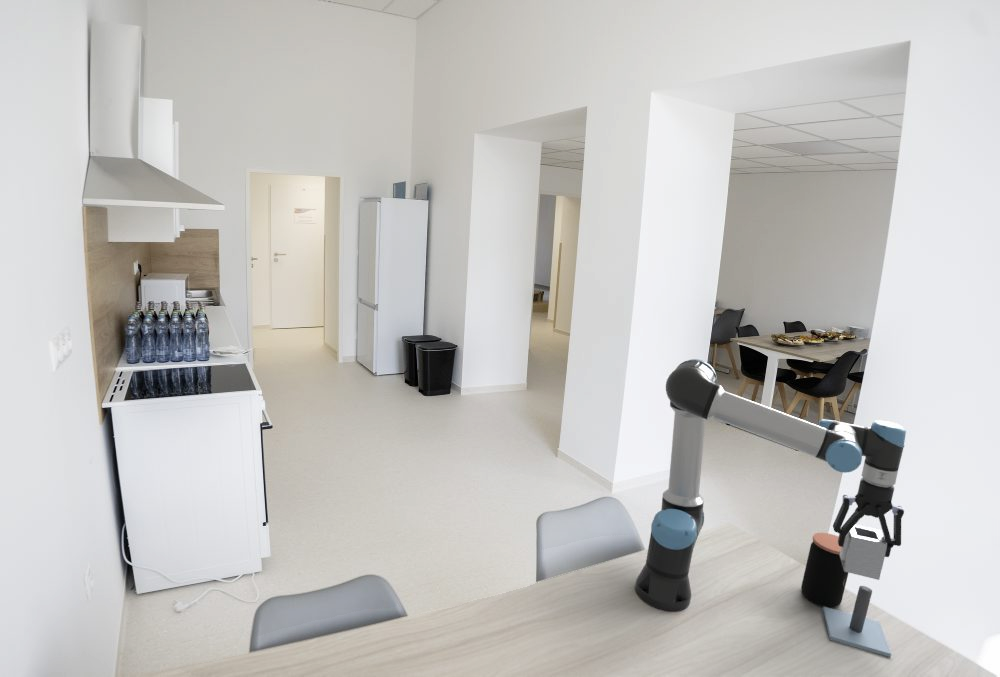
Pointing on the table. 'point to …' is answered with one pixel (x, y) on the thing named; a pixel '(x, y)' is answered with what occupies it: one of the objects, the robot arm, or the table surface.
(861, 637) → the blue base with peg
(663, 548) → the robot arm
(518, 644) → the table surface
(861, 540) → the square metal tube
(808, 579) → the coffee jar
